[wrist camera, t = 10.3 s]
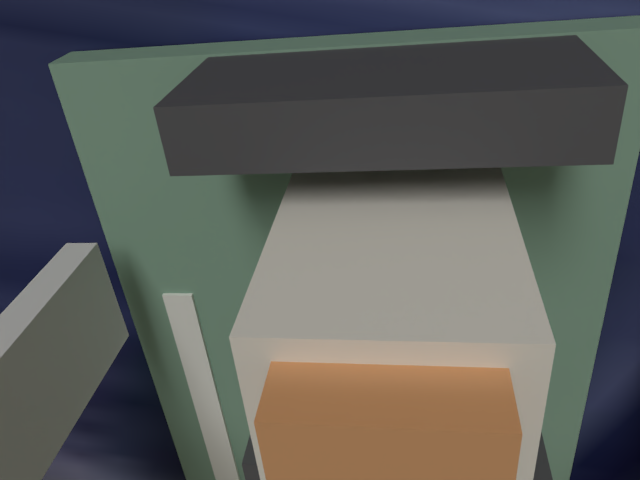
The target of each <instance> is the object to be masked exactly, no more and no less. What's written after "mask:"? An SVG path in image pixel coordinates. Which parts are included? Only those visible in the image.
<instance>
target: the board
mask: <svg viewBox="0 0 640 480" xmlns="http://www.w3.org/2000/svg"><path fill="white" fill-rule="evenodd" d="M48 66H49V69H50V72H51V75H52V78H53V81H54V84H55V87H56V90H57V93H58V96H59V99H60V102H61V105H62V108H63V111H64V114H65V117H66V120H67V123H68V126H69V129H70V132H71V135H72V138H73V141H74V144H75V147H76V150H77V153H78V156H79V159H80V162H81V165H82V168H83V171H84V174H85V177H86V180H87V183H88V186H89V189H90V192H91V195H92V198H93V201H94V204H95V207H96V210H97V213H98V216H99V219H100V222H101V225H102V228H103V231H104V234H105V237H106V240H107V243H108V246H109V249H110V252H111V255H112V258H113V261H114V264H115V267H116V270H117V273H118V276H119V279H120V282H121V285H122V288H123V291H124V294H125V297H126V300H127V303H128V306H129V309H130V312H131V315H132V318H133V321H134V324H135V327H136V330H137V333H138V336H139V339H140V342H141V345H142V348H143V351H144V354H145V357H146V360H147V363H148V366H149V369H150V372H151V375H152V378H153V381H154V384H155V387H156V390H157V393H158V396H159V399H160V402H161V405H162V408H163V411H164V414H165V417H166V420H167V423H168V426H169V429H170V432H171V435H172V438H173V442H174V445H175V448H176V451H177V454H178V457H179V460H180V463H181V466H182V469H183V472H184V475H185V478H186V480H260V477H259V472H258V467H257V463H256V458H255V454H254V449H253V445H252V440H251V436H250V431H249V426H248V422H247V417H246V413H245V408H244V404H243V399H242V395H241V390H240V386H239V381H238V376H237V372H236V367H235V363H234V358H233V354H232V349H231V345H230V340H229V336H230V333H231V331H232V328H233V325H234V323H235V320H236V318H237V315H238V312H239V310H240V307H241V305H242V302H243V300H244V297H245V294H246V292H247V289H248V287H249V284H250V281H251V279H252V276H253V274H254V271H255V269H256V266H257V263H258V261H259V258H260V256H261V253H262V251H263V248H264V245H265V243H266V240H267V238H268V235H269V232H270V230H271V227H272V225H273V222H274V220H275V217H276V214H277V212H278V209H279V207H280V204H281V201H282V199H283V196H284V194H285V191H286V189H287V186H288V183H289V181H290V178H291V176H292V173H316V172H354V171H391V170H428V169H465V168H501V170H502V173H503V176H504V180H505V183H506V186H507V189H508V192H509V196H510V199H511V202H512V205H513V208H514V212H515V215H516V218H517V221H518V224H519V228H520V231H521V234H522V237H523V240H524V244H525V247H526V250H527V253H528V256H529V260H530V263H531V266H532V269H533V272H534V276H535V279H536V282H537V285H538V288H539V292H540V295H541V298H542V301H543V304H544V308H545V311H546V314H547V317H548V320H549V324H550V327H551V330H552V333H553V336H554V339H555V343H556V348H555V354H554V360H553V366H552V372H551V377H550V383H549V389H548V395H547V401H546V407H545V413H544V419H543V425H542V431H541V436H540V442H539V448H538V454H537V460H536V466H535V472H534V478H533V480H569V479H570V474H571V469H572V465H573V460H574V455H575V451H576V446H577V441H578V436H579V432H580V427H581V422H582V418H583V413H584V408H585V404H586V399H587V394H588V390H589V385H590V380H591V375H592V371H593V366H594V361H595V357H596V352H597V347H598V343H599V338H600V333H601V329H602V324H603V319H604V314H605V310H606V305H607V300H608V296H609V291H610V286H611V282H612V277H613V272H614V267H615V263H616V258H617V253H618V249H619V244H620V239H621V235H622V230H623V225H624V221H625V216H626V211H627V206H628V202H629V197H630V192H631V188H632V183H633V178H634V174H635V169H636V164H637V160H638V155H639V150H640V15H639V16H624V17H608V18H592V19H577V20H561V21H546V22H530V23H514V24H499V25H483V26H467V27H452V28H436V29H421V30H405V31H389V32H374V33H358V34H343V35H327V36H311V37H296V38H280V39H264V40H249V41H233V42H218V43H202V44H186V45H171V46H155V47H140V48H124V49H108V50H93V51H77V52H70V53H68V54H66V55H64V56H63V57H61V58H59V59H57V60H55V61H53V62H51V63H49V64H48Z"/></svg>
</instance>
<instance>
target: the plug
mask: <svg viewBox="0 0 640 480" xmlns="http://www.w3.org/2000/svg"><path fill="white" fill-rule="evenodd" d="M229 340H230V345H231V349H232V354H233V358H234V363H235V367H236V372H237V376H238V381H239V386H240V390H241V395H242V399H243V404H244V408H245V413H246V417H247V422H248V426H249V431H250V436H251V440H252V445H253V449H254V454H255V458H256V463H257V467H258V472H259V477H260V480H533V478H534V472H535V466H536V460H537V454H538V448H539V442H540V436H541V431H542V425H543V419H544V413H545V407H546V401H547V395H548V389H549V383H550V377H551V372H552V366H553V360H554V354H555V348H556V343H555V339H554V336H553V333H552V330H551V327H550V324H549V320H548V317H547V314H546V311H545V308H544V304H543V301H542V298H541V295H540V292H539V288H538V285H537V282H536V279H535V276H534V272H533V269H532V266H531V263H530V260H529V256H528V253H527V250H526V247H525V244H524V240H523V237H522V234H521V231H520V228H519V224H518V221H517V218H516V215H515V212H514V208H513V205H512V202H511V199H510V196H509V192H508V189H507V186H506V183H505V180H504V176H503V173H502V170H501V168H465V169H428V170H391V171H354V172H316V173H292V176H291V178H290V181H289V183H288V186H287V189H286V191H285V194H284V196H283V199H282V201H281V204H280V207H279V209H278V212H277V214H276V217H275V220H274V222H273V225H272V227H271V230H270V232H269V235H268V238H267V240H266V243H265V245H264V248H263V251H262V253H261V256H260V258H259V261H258V263H257V266H256V269H255V271H254V274H253V276H252V279H251V281H250V284H249V287H248V289H247V292H246V294H245V297H244V300H243V302H242V305H241V307H240V310H239V312H238V315H237V318H236V320H235V323H234V325H233V328H232V331H231V333H230V336H229Z"/></svg>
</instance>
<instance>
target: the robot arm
mask: <svg viewBox="0 0 640 480" xmlns="http://www.w3.org/2000/svg"><path fill="white" fill-rule="evenodd" d="M128 336H129V334H128V331H127V328H126V325H125V323H124V320H123V317H122V314H121V311H120V308H119V305H118V302H117V299H116V296H115V293H114V291H113V288H112V285H111V282H110V279H109V276H108V273H107V270H106V267H105V264H104V261H103V259H102V256H101V253H100V250H99V247H98V244H97V243H66V244H65V245H64V246H63V247H62V248H61V250H60V251H59V252H58V253H57V254H56V255H55V256H54V257H53V258H52V259H51V260H50V261H49V263H48V264H47V265H46V266H45V267H44V268H43V269H42V270H41V271H40V272H39V273H38V274H37V276H36V277H35V278H34V279H33V280H32V281H31V282H30V283H29V284H28V285H27V286H26V287H25V288H24V290H23V291H22V292H21V293H20V294H19V295H18V296H17V297H16V298H15V299H14V300H13V301H12V303H11V304H10V305H9V306H8V307H7V308H6V309H5V310H4V311H3V312H2V313H1V314H0V480H42V478H43V476H44V475H45V473H46V471H47V470H48V468H49V466H50V465H51V463H52V461H53V460H54V458H55V457H56V455H57V453H58V452H59V450H60V448H61V447H62V445H63V443H64V442H65V440H66V438H67V437H68V435H69V433H70V432H71V430H72V428H73V427H74V425H75V424H76V422H77V420H78V419H79V417H80V415H81V414H82V412H83V410H84V409H85V407H86V405H87V404H88V402H89V400H90V399H91V397H92V395H93V394H94V392H95V390H96V389H97V387H98V386H99V384H100V382H101V381H102V379H103V377H104V376H105V374H106V372H107V371H108V369H109V367H110V366H111V364H112V362H113V361H114V359H115V357H116V356H117V354H118V353H119V351H120V349H121V348H122V346H123V344H124V343H125V341H126V339H127V338H128Z"/></svg>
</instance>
